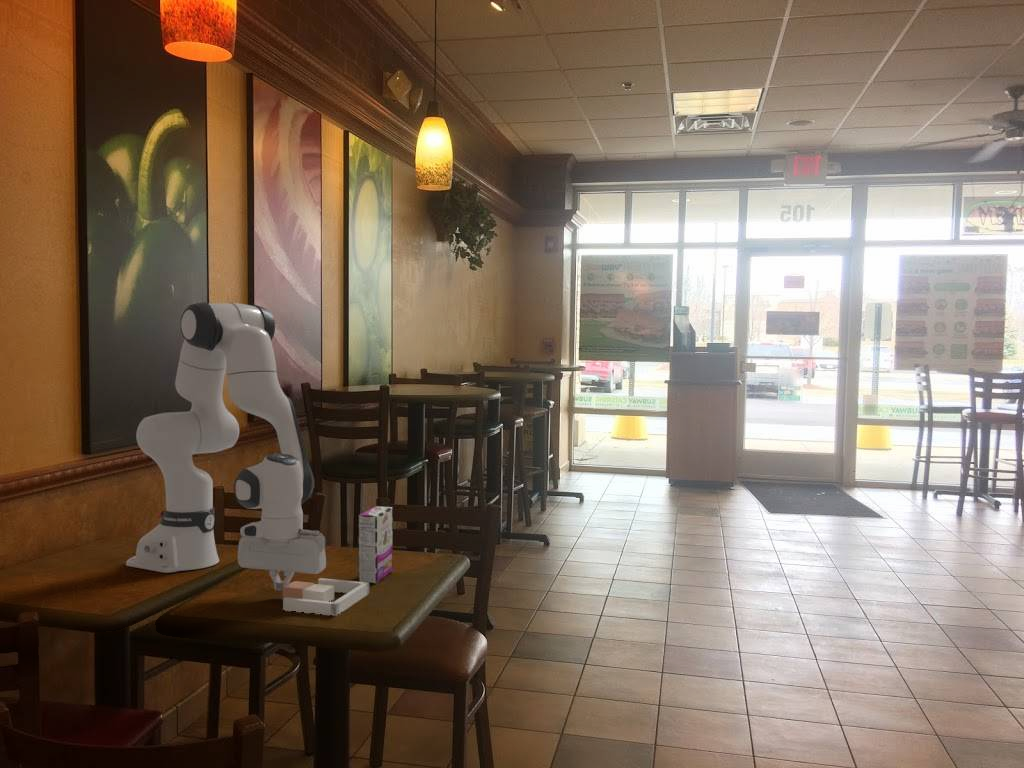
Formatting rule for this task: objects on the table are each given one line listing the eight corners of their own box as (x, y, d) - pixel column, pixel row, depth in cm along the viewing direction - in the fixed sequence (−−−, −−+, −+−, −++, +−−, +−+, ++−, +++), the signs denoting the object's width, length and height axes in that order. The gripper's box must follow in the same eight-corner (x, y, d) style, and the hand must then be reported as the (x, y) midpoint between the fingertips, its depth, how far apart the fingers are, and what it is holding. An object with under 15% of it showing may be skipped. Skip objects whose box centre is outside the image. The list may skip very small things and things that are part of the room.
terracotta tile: (282, 600, 174) (282, 587, 174) (294, 594, 179) (294, 581, 179) (303, 602, 173) (303, 589, 173) (314, 596, 178) (314, 582, 178)
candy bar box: (374, 570, 200) (374, 505, 200) (393, 571, 199) (393, 506, 199) (357, 582, 189) (357, 514, 189) (376, 584, 188) (377, 515, 188)
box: (283, 610, 168) (283, 598, 168) (320, 588, 184) (320, 578, 184) (336, 616, 165) (336, 604, 165) (369, 593, 181) (369, 582, 181)
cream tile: (302, 603, 173) (302, 590, 173) (313, 597, 178) (313, 583, 178) (323, 606, 172) (323, 592, 172) (334, 599, 177) (334, 585, 176)
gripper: (331, 528, 177) (331, 589, 177) (249, 522, 182) (249, 582, 182) (317, 534, 171) (317, 598, 171) (233, 527, 176) (233, 589, 176)
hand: (281, 589), depth 177 cm, fingers closed
